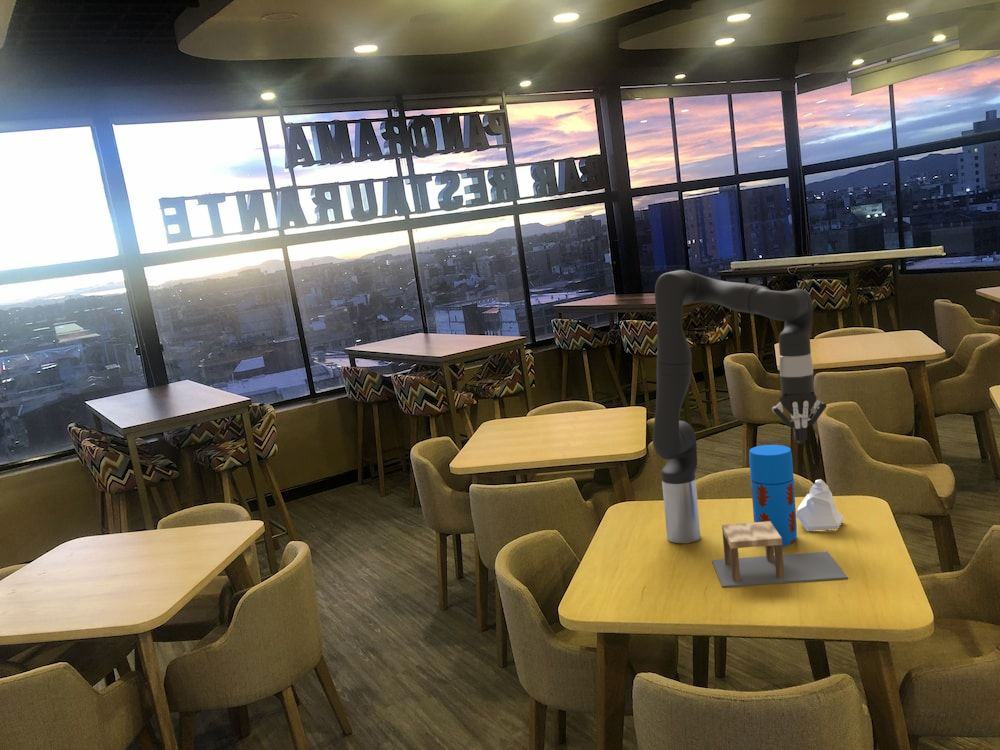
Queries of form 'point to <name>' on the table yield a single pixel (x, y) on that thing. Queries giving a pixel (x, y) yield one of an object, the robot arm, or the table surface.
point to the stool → (752, 544)
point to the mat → (795, 569)
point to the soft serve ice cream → (819, 509)
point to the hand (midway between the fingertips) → (800, 442)
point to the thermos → (774, 489)
